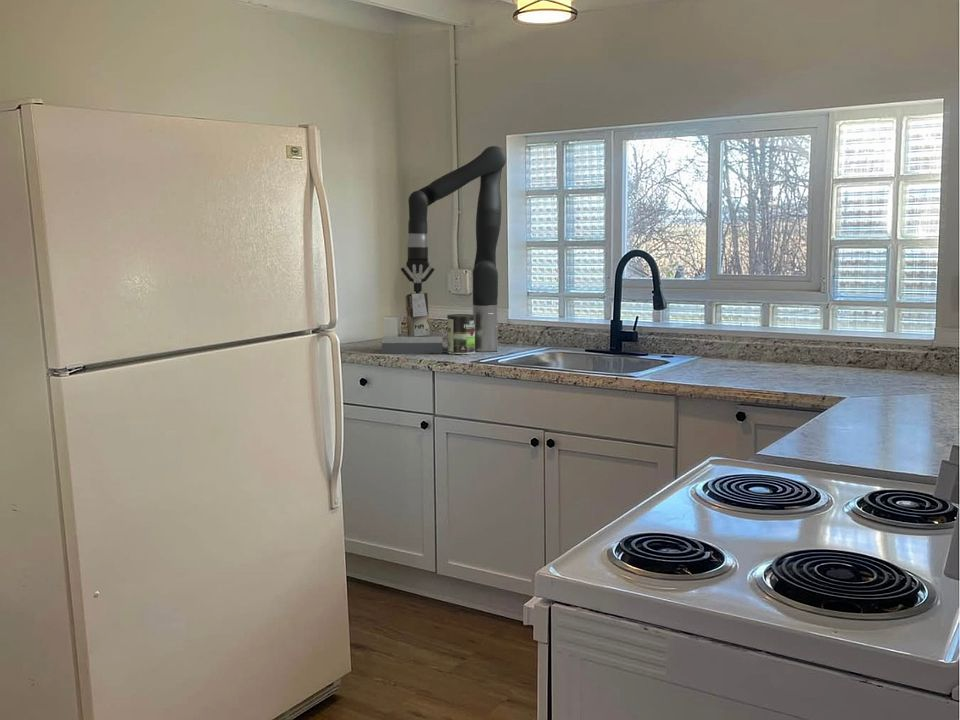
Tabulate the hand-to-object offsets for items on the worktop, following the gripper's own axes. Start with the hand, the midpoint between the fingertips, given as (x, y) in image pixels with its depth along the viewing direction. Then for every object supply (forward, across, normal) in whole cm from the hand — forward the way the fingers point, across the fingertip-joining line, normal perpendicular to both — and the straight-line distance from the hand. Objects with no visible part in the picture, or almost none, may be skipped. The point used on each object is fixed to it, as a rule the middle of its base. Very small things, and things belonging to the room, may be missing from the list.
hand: (417, 293), depth 336 cm
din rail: (+18, +2, 0) cm, 18 cm away
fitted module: (+17, +10, 0) cm, 20 cm away
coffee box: (+16, -1, 0) cm, 17 cm away
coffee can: (+22, -16, +5) cm, 28 cm away
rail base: (+22, +2, 0) cm, 22 cm away
